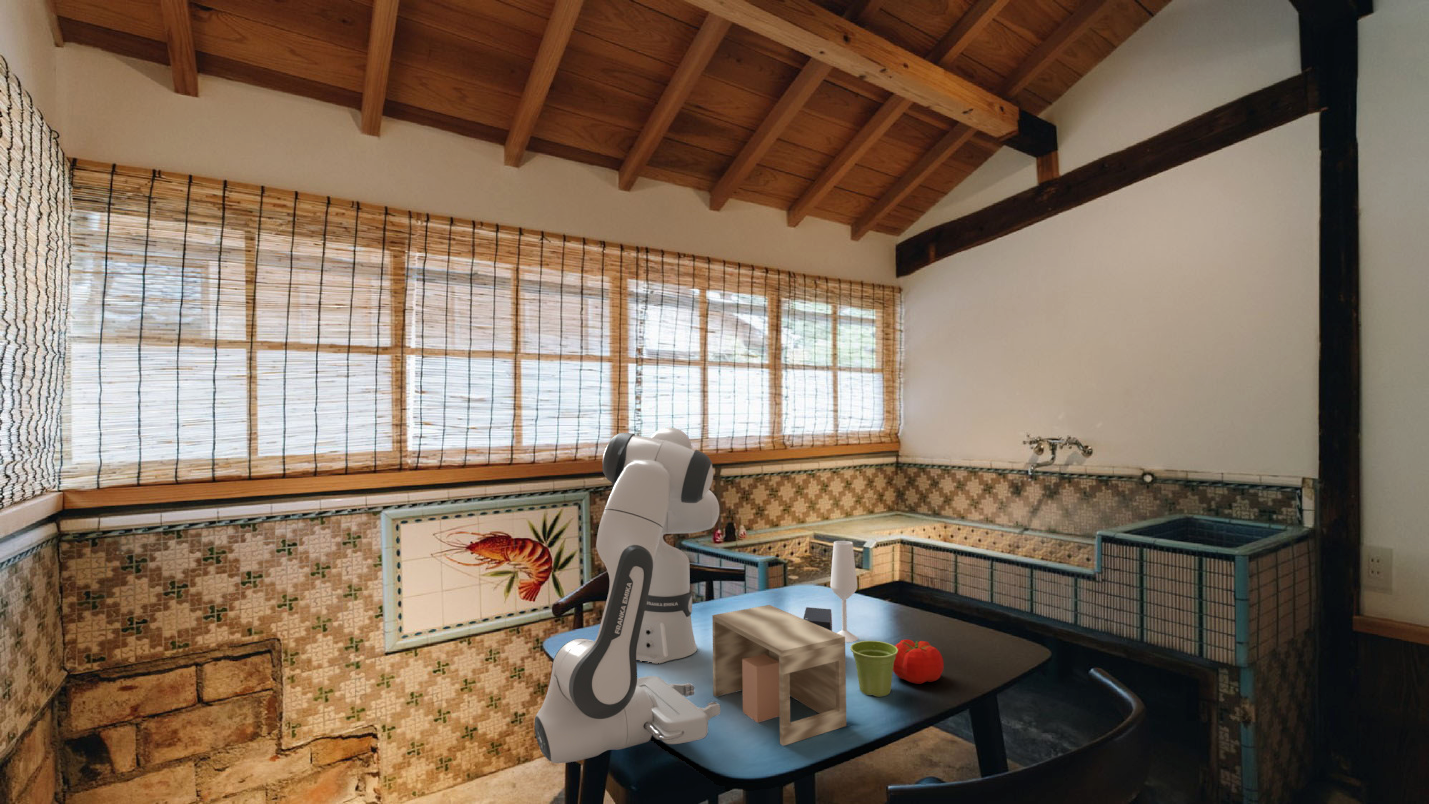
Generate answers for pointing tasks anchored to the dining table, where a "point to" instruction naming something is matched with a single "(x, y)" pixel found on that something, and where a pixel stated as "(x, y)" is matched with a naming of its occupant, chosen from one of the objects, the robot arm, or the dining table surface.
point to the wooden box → (785, 665)
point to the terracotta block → (760, 687)
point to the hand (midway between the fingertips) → (705, 697)
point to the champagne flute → (844, 580)
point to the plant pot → (874, 666)
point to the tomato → (917, 662)
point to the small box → (819, 617)
